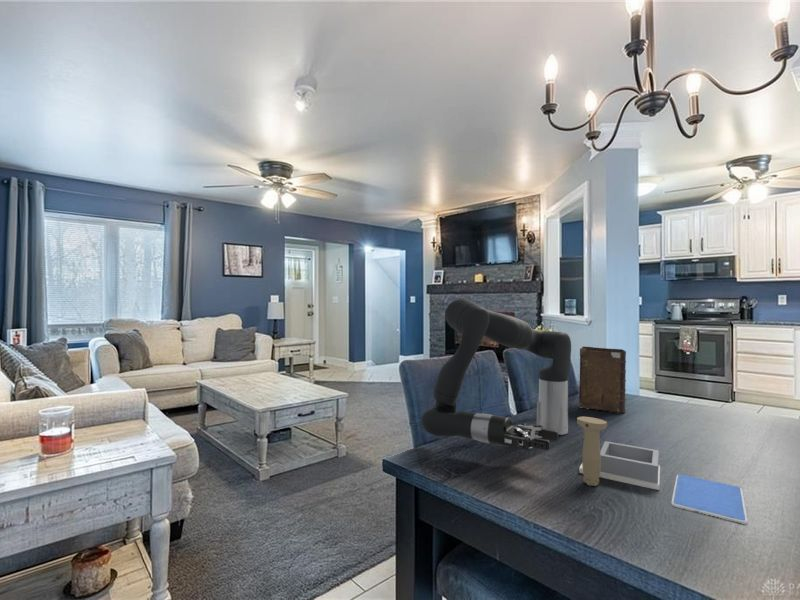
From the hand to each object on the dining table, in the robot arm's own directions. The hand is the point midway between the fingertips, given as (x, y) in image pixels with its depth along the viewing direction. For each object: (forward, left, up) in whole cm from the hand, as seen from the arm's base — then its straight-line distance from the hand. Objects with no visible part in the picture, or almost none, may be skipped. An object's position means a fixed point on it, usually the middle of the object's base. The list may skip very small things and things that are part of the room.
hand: (553, 440), depth 101 cm
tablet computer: (+31, +7, -9) cm, 33 cm away
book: (+2, +77, -9) cm, 78 cm away
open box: (+14, +12, -9) cm, 20 cm away
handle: (+9, 0, -9) cm, 12 cm away
